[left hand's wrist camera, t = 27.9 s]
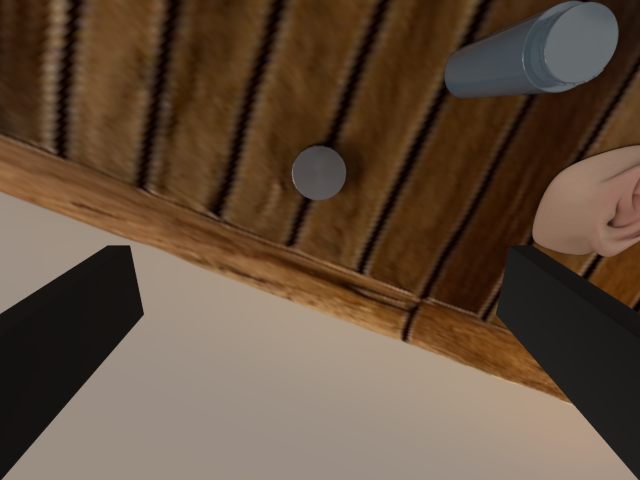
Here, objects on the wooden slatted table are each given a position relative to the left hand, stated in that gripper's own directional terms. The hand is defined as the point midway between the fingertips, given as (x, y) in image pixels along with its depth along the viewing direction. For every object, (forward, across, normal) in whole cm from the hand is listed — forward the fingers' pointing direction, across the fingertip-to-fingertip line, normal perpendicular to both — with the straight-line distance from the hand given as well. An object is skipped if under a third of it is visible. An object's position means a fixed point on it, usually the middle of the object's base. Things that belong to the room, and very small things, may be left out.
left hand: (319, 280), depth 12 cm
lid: (+25, 0, 0) cm, 25 cm away
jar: (+26, +14, +9) cm, 31 cm away
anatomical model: (+26, +30, -4) cm, 40 cm away
